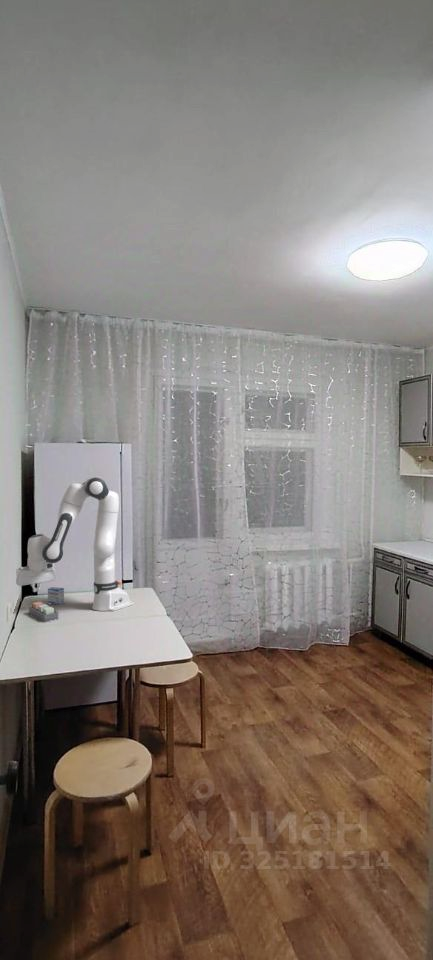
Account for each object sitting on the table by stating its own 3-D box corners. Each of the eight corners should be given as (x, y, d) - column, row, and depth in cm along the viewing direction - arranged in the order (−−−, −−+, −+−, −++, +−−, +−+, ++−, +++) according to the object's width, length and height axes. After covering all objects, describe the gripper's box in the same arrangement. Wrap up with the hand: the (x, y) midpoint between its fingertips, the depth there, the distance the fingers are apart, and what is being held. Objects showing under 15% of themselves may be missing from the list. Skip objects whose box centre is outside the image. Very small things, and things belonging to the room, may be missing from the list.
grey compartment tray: (42, 610, 267) (41, 604, 267) (58, 619, 252) (58, 612, 252) (29, 613, 262) (28, 606, 262) (44, 622, 247) (44, 615, 247)
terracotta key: (40, 607, 265) (40, 601, 265) (43, 608, 262) (43, 603, 262) (32, 608, 262) (32, 603, 262) (35, 610, 259) (35, 604, 259)
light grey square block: (45, 609, 260) (45, 604, 260) (48, 611, 257) (48, 605, 257) (37, 611, 257) (37, 605, 257) (41, 613, 254) (40, 607, 254)
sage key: (50, 612, 255) (50, 606, 255) (54, 614, 252) (53, 608, 252) (43, 614, 252) (42, 608, 252) (46, 615, 249) (46, 610, 249)
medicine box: (47, 604, 280) (47, 588, 279) (52, 601, 284) (52, 586, 284) (59, 605, 277) (59, 589, 277) (64, 602, 282) (64, 587, 281)
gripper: (18, 568, 252) (18, 596, 252) (57, 563, 265) (57, 589, 266) (14, 566, 256) (14, 593, 257) (52, 562, 270) (52, 587, 270)
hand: (36, 591), depth 261 cm, fingers closed
